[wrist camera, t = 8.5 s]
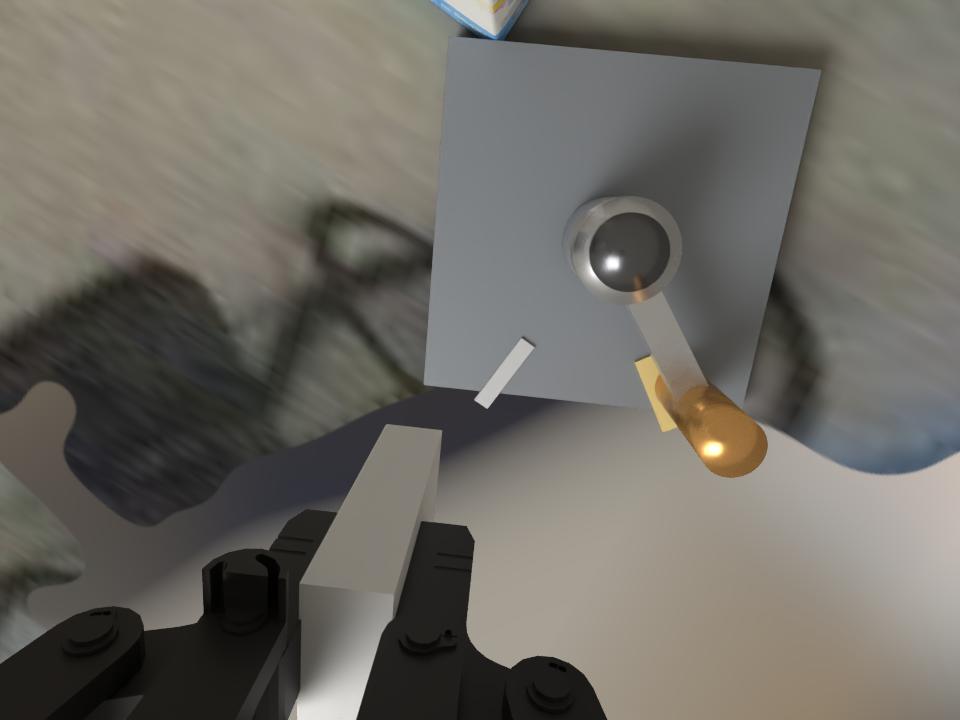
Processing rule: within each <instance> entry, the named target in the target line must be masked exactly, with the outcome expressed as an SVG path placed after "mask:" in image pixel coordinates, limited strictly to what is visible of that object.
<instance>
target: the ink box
mask: <svg viewBox="0 0 960 720" xmlns="http://www.w3.org/2000/svg"><path fill="white" fill-rule="evenodd" d="M430 1H431V2H433V3H434V4H435V5H437V6H438V7H439V8H441V9H442V10H443V11H445V12H446V13H447V14H448V15H450V16H451V17H452V18H454V19H455V20H456V21H458V22H459V23H460V24H462V25H463V26H464V27H466V28H467V29H469V30H470V31H471V32H473V33H474V34H475V35H477V36H478V37H480V38H481V39H487V40H498V41H504V39H505V38H506V36H507V35H508V33H509V32H510V30H511V28H512V27H513V25H514V24H515V22H516V21H517V19H518V17H519V16H520V14H521V13H522V11H523V10H524V8H525V6H526V5H527V3H528V2H529V0H430Z"/></svg>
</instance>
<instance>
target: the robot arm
mask: <svg viewBox="0 0 960 720" xmlns="http://www.w3.org/2000/svg"><path fill="white" fill-rule="evenodd" d="M441 436H442V431H441V430H432V429H424V428H416V427H407V426H398V425H389V424H386V426H385V428H384V429H383V431H382V433H381V435H380V437H379V439H378V440H377V442H376V444H375V446H374V448H373V450H372V451H371V453H370V455H369V457H368V459H367V461H366V462H365V464H364V466H363V468H362V470H361V472H360V473H359V475H358V477H357V479H356V481H355V482H354V485H353V486H352V488H351V490H350V492H349V493H348V495H347V497H346V499H345V501H344V503H343V504H342V506H341V508H340V510H339V512H338V513H334V512H327V511H318V510H309V509H306V510H304V511H303V512H301V513H300V514H298V515H297V516H295V517H294V518H292V519H290V520H289V521H288V522H287V524H286V525H285V526H284V528H283V529H282V531H281V532H280V534H279V535H278V539H276V540H275V541H274V543H273V544H272V545H271V547H270V550H269V551H268V550H264V549H243V550H237V551H233V552H229V553H226V554H224V555H222V556H220V557H218V558H215V559H213V560H212V561H211V562H210V563H208V564H207V565H206V566H205V567H204V568H203V569H202V581H203V605H204V614H203V615H202V616H201V618H200V619H199V621H198V622H197V623H195V624H191V625H186V626H181V627H174V628H165V629H157V630H149V631H144V625H143V622H142V620H141V617H140V615H139V614H137V613H136V612H134V611H133V610H131V609H129V608H121V607H115V606H112V607H104V608H95V609H92V610H89V611H86V612H82V613H79V614H76V615H74V616H72V617H70V618H69V619H67V620H65V621H63V622H61V623H60V624H58V625H56V626H55V627H53V628H52V629H50V630H49V631H47V632H46V633H44V634H43V635H41V636H40V637H39V638H37V639H36V640H34V641H33V642H31V643H30V644H28V645H27V646H26V647H24V648H23V649H21V650H20V651H18V652H17V653H15V654H14V655H12V656H11V657H10V658H8V659H7V660H5V661H4V662H2V663H1V664H0V720H288V718H289V716H290V713H291V711H292V708H293V705H294V704H295V701H296V699H297V697H298V702H297V720H607V718H606V716H605V713H604V711H603V709H602V707H601V705H600V702H599V700H598V698H597V696H596V694H595V691H594V689H593V687H592V686H591V684H590V683H589V681H588V680H587V678H586V677H585V675H584V674H582V672H580V671H579V670H578V669H576V668H575V667H574V666H572V665H571V664H570V663H567V662H565V661H562V660H560V659H557V658H554V657H545V656H535V657H531V658H527V659H523V660H522V661H520V662H519V663H517V664H516V665H515V666H514V667H512V668H511V669H509V668H507V667H505V666H502V665H500V664H497V663H495V662H494V661H492V660H490V659H488V658H486V657H485V656H484V655H482V654H481V653H480V652H479V651H477V649H476V648H475V647H474V645H473V644H472V643H471V641H470V639H469V637H468V634H467V628H466V620H467V611H468V601H469V591H470V582H471V572H472V562H473V551H474V543H475V541H474V539H473V537H472V535H471V534H470V532H469V530H468V528H467V526H461V525H452V524H444V523H435V522H434V515H435V503H436V491H437V482H438V469H439V458H440V448H441Z"/></svg>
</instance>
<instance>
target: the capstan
mask: <svg viewBox="0 0 960 720" xmlns="http://www.w3.org/2000/svg"><path fill="white" fill-rule="evenodd" d="M562 249H563V254H564V258H565V260H566V262H567V264H568V266H569V267H570V269H571V270H572V271H573V272H574V274H575V275H576V276H577V277H578V278H579V280H580V281H581V282H582V283H583V284H584V286H585V287H586V288H587V289H588V290H589V291H590V292H591V293H592V294H594V295H595V296H596V297H598V298H600V299H602V300H604V301H606V302H609V303H613V304H619V305H625V307H626V309H627V311H628V313H629V315H630V317H631V318H632V320H633V322H634V324H635V326H636V328H637V330H638V332H639V334H640V336H641V338H642V340H643V342H644V344H645V346H646V348H647V350H648V352H649V354H650V355H651V357H652V359H653V361H654V363H655V365H656V367H657V369H658V371H659V373H660V374H659V376H658V377H657V379H656V382H655V394H656V397H657V399H658V400H659V402H660V403H661V405H662V406H663V407H664V409H665V410H666V411H667V413H668V414H669V416H670V417H671V418H672V420H673V421H674V423H675V424H676V425H677V427H678V428H679V429H680V431H681V432H682V434H683V435H684V436H685V438H686V439H687V440H688V442H689V443H690V444H691V446H692V447H693V449H694V450H695V452H696V453H697V454H698V456H699V457H700V458H701V460H702V461H703V463H704V464H705V465H706V467H707V468H708V469H709V470H711V471H712V472H713V473H715V474H717V475H719V476H722V477H729V478H734V477H740V476H744V475H746V474H748V473H750V472H752V471H753V470H755V469H756V468H757V467H758V466H759V465H760V464H761V462H762V461H763V459H764V458H765V455H766V452H767V447H768V443H767V437H766V435H765V433H764V431H763V430H762V428H761V427H760V426H759V425H758V424H757V423H756V422H754V421H753V420H752V419H751V418H750V417H749V416H748V415H747V414H746V413H745V412H744V411H743V410H741V409H740V408H739V407H738V406H737V405H736V404H735V403H734V402H733V401H732V400H731V399H729V398H728V397H727V396H726V395H725V394H724V393H723V392H722V391H721V390H720V389H719V388H717V387H716V386H715V385H714V384H713V383H712V382H711V381H710V380H709V379H708V378H707V377H706V376H704V375H703V373H702V371H701V369H700V367H699V365H698V363H697V361H696V359H695V357H694V355H693V353H692V351H691V349H690V347H689V345H688V343H687V341H686V339H685V337H684V335H683V333H682V331H681V329H680V327H679V325H678V323H677V321H676V319H675V317H674V315H673V313H672V311H671V309H670V307H669V305H668V303H667V301H666V299H665V297H664V295H663V293H662V290H663V289H664V288H665V287H666V286H667V285H668V284H669V283H670V282H671V280H672V279H673V277H674V276H675V274H676V272H677V270H678V267H679V264H680V261H681V256H682V238H681V233H680V230H679V227H678V225H677V223H676V221H675V220H674V218H673V217H672V215H671V214H670V213H669V212H668V211H667V210H666V209H665V208H664V207H662V206H661V205H660V204H658V203H656V202H654V201H652V200H649V199H647V198H642V197H635V196H624V197H602V198H597V199H594V200H591V201H589V202H587V203H585V204H583V205H582V206H580V207H579V208H578V209H577V210H576V211H575V212H574V213H573V214H572V216H571V217H570V218H569V220H568V222H567V224H566V226H565V229H564V232H563V237H562Z"/></svg>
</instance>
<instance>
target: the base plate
mask: <svg viewBox="0 0 960 720" xmlns="http://www.w3.org/2000/svg"><path fill="white" fill-rule="evenodd" d="M821 71H822V70H820V69H809V68H797V67H786V66H775V65H764V64H753V63H742V62H731V61H720V60H709V59H698V58H687V57H676V56H664V55H653V54H642V53H631V52H620V51H609V50H598V49H587V48H576V47H565V46H554V45H542V44H531V43H520V42H509V41H498V40H487V39H476V38H465V37H454V36H449V37H448V51H447V65H446V79H445V93H444V108H443V122H442V136H441V150H440V164H439V178H438V192H437V206H436V220H435V234H434V248H433V262H432V276H431V290H430V304H429V318H428V332H427V346H426V361H425V375H424V385H429V386H439V387H448V388H457V389H466V390H476V391H480V393H479V394H478V395H477V397H476V398H475V401H477V402H478V403H479V404H481V405H482V406H484V407H486V408H488V407H489V406H490V405H491V403H492V402H493V401H494V399H495V398H496V397H497V395H498V394H499V393H504V394H513V395H522V396H531V397H540V398H550V399H559V400H569V401H577V402H586V403H596V404H605V405H614V406H624V407H633V408H642V409H651V410H654V412H655V414H656V417H657V419H658V422H659V424H660V426H661V429H662V431H663V432H666V431H668V430H671V429H673V428H676V427H677V425H676V424H675V423H674V421H673V420H672V418H671V417H670V416H669V414H668V413H667V411H666V410H665V409H664V407H663V406H662V405H661V403H660V402H659V400H658V399H657V397H656V394H655V382H656V379H657V377H658V376H659V374H660V373H659V371H658V369H657V367H656V365H655V363H654V361H653V359H652V357H651V355H650V354H649V352H648V350H647V348H646V346H645V344H644V342H643V340H642V338H641V336H640V334H639V332H638V330H637V328H636V326H635V324H634V322H633V320H632V318H631V317H630V315H629V313H628V311H627V309H626V307H625V305H619V304H613V303H609V302H606V301H604V300H602V299H600V298H598V297H596V296H595V295H594V294H592V293H591V292H590V291H589V290H588V289H587V288H586V287H585V286H584V284H583V283H582V282H581V281H580V280H579V278H578V277H577V276H576V275H575V274H574V272H573V271H572V270H571V269H570V267H569V266H568V264H567V262H566V260H565V258H564V254H563V249H562V237H563V232H564V229H565V226H566V224H567V222H568V220H569V218H570V217H571V216H572V214H573V213H574V212H575V211H576V210H577V209H578V208H579V207H580V206H582V205H583V204H585V203H587V202H589V201H591V200H594V199H597V198H602V197H624V196H635V197H642V198H647V199H649V200H652V201H654V202H656V203H658V204H660V205H661V206H662V207H664V208H665V209H666V210H667V211H668V212H669V213H670V214H671V215H672V217H673V218H674V220H675V221H676V223H677V225H678V227H679V230H680V233H681V238H682V256H681V261H680V264H679V267H678V270H677V272H676V274H675V276H674V277H673V279H672V280H671V282H670V283H669V284H668V285H667V286H666V287H665V288H664V289H663V290H662V293H663V295H664V297H665V299H666V301H667V303H668V305H669V307H670V309H671V311H672V313H673V315H674V317H675V319H676V321H677V323H678V325H679V327H680V329H681V331H682V333H683V335H684V337H685V339H686V341H687V343H688V345H689V347H690V349H691V351H692V353H693V355H694V357H695V359H696V361H697V363H698V365H699V367H700V369H701V371H702V373H703V375H704V376H706V377H707V378H708V379H709V380H710V381H711V382H712V383H713V384H714V385H715V386H716V387H717V388H719V389H720V390H721V391H722V392H723V393H724V394H725V395H726V396H727V397H728V398H729V399H731V400H732V401H733V402H734V403H735V404H736V405H737V406H738V407H739V408H740V409H741V410H742V407H743V403H744V399H745V395H746V390H747V386H748V382H749V377H750V373H751V369H752V365H753V360H754V356H755V352H756V348H757V343H758V339H759V335H760V331H761V326H762V322H763V318H764V314H765V309H766V305H767V301H768V297H769V292H770V288H771V284H772V279H773V275H774V271H775V267H776V262H777V258H778V254H779V250H780V245H781V241H782V237H783V233H784V228H785V224H786V220H787V216H788V211H789V207H790V203H791V198H792V194H793V190H794V186H795V181H796V177H797V173H798V169H799V164H800V160H801V156H802V152H803V147H804V143H805V139H806V135H807V130H808V126H809V122H810V117H811V113H812V109H813V105H814V100H815V96H816V92H817V88H818V83H819V79H820V75H821Z"/></svg>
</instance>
